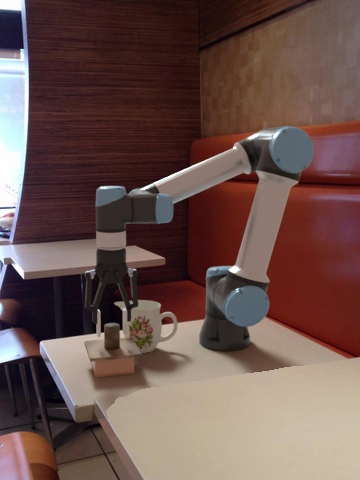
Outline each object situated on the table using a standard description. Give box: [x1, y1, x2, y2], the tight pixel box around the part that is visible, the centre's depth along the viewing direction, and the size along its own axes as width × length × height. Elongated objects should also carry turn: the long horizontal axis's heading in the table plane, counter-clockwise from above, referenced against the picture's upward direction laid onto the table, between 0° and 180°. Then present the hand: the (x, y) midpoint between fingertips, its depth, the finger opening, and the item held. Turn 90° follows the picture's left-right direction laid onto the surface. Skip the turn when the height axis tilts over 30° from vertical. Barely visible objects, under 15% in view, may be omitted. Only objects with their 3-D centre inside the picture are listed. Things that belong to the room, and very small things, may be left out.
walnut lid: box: [84, 322, 143, 363], centre depth 154 cm, size 13×13×7 cm
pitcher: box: [114, 299, 178, 354], centre depth 169 cm, size 11×18×14 cm, turn 92°
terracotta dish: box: [90, 358, 135, 378], centre depth 155 cm, size 10×10×5 cm
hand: (111, 334), depth 154 cm, fingers open, 6 cm apart
